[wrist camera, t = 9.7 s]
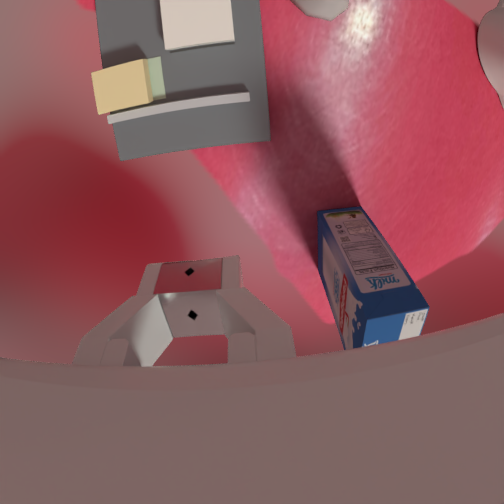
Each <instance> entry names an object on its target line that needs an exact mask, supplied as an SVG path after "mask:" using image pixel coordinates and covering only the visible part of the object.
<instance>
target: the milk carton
mask: <svg viewBox="0 0 504 504" xmlns="http://www.w3.org/2000/svg"><path fill="white" fill-rule="evenodd" d="M317 219H318V271H319V274H320V277H321V280H322V283H323V286H324V289H325V292H326V295H327V298H328V301H329V304H330V307H331V310H332V313H333V316H334V319H335V322H336V325H337V328H338V331H339V334H340V337H341V341H342V344H343V347H344V350H348V349H354V348H360V347H366V346H371V345H377V344H382V343H387V342H392V341H397V340H402V339H407V338H411V337H416V336H420V334H421V331H422V328H423V325H424V322H425V319H426V317H427V313H428V310H429V305H428V304H427V302H426V301H425V299H424V297H423V296H422V294H421V292H420V291H419V289H418V288H417V286H416V285H415V283H414V281H413V280H412V278H411V277H410V275H409V274H408V272H407V271H406V269H405V268H404V266H403V265H402V263H401V262H400V260H399V259H398V257H397V256H396V254H395V253H394V251H393V250H392V248H391V247H390V245H389V244H388V243H387V241H386V240H385V238H384V237H383V236H382V234H381V233H380V231H379V230H378V229H377V227H376V226H375V224H374V223H373V222H372V220H371V219H370V218H369V216H368V215H367V214H366V212H365V211H364V210H363V208H362V207H361V206H359V207H350V208H341V209H332V210H323V211H317Z"/></svg>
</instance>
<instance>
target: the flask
mask: <svg viewBox="0 0 504 504" xmlns="http://www.w3.org/2000/svg"><path fill="white" fill-rule="evenodd" d="M290 1H291V2H292V3H294V4H295V5H296V6H297V7H298V8H299V9H300V10H301V11H302V12H303V13H304V14H305V15H306V16H311V17H315V18H320V19H324V20H328V21H332V20H333V19H334V18H336V17H337V16H338V15H340V14H341V13H342V12H344V11H345V10H346V9H348V4H349V0H290Z"/></svg>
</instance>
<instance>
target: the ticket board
mask: <svg viewBox="0 0 504 504" xmlns="http://www.w3.org/2000/svg"><path fill="white" fill-rule="evenodd" d="M95 4H96V15H97V25H98V35H99V43H100V51H101V59H102V66H103V69H105V68H109V67H112V66H116V65H120V64H124V63H127V62H131V61H136V60H140V59H148V67H149V74H150V81H151V88H152V95H153V101H152V102H150V103H147V104H142V105H137V106H133V107H128V108H124V109H119V110H115V111H111V112H110V115H108V116H107V119H108V123H109V124H111V123H112V124H113V129H114V134H115V139H116V143H117V148H118V153H119V157H120V161H124V160H129V159H134V158H140V157H145V156H151V155H156V154H163V153H169V152H175V151H183V150H190V149H197V148H205V147H213V146H222V145H231V144H241V143H251V142H263V141H271V137H270V122H269V109H268V95H267V82H266V70H265V58H264V47H263V35H262V24H261V14H260V3H259V0H95Z"/></svg>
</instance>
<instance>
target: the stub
mask: <svg viewBox="0 0 504 504" xmlns="http://www.w3.org/2000/svg"><path fill="white" fill-rule="evenodd" d="M91 75H92V82H93V88H94V94H95V99H96V105H97V110H98V114H103V113H107V112H111V111H115V110H119V109H124V108H128V107H133V106H137V105H142V104H147V103H150V102H152V101H153V95H152V88H151V81H150V74H149V67H148V59H140V60H136V61H131V62H127V63H124V64H120V65H116V66H112V67H109V68H105V69H102V70H99V71H95V72H92V73H91Z"/></svg>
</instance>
